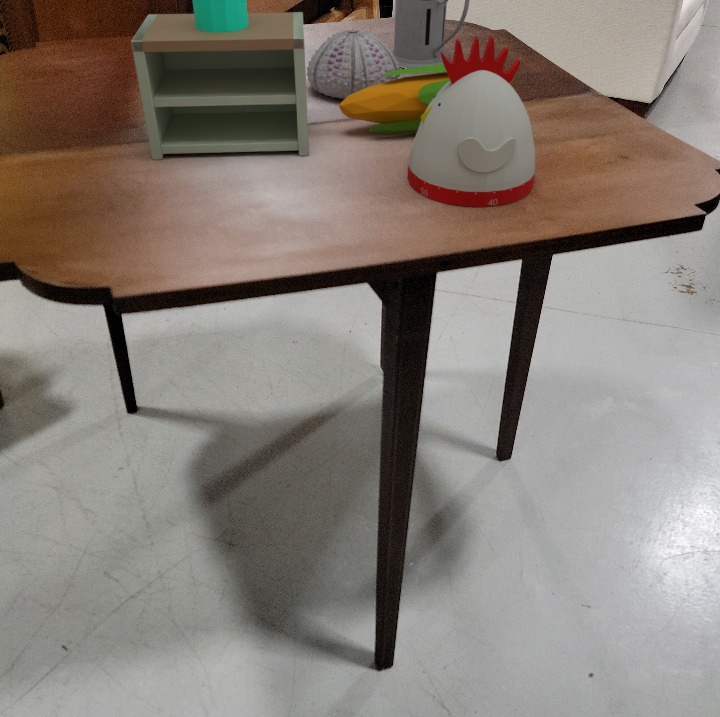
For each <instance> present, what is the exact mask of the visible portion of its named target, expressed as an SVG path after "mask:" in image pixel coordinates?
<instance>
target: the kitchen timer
mask: <svg viewBox="0 0 720 717" xmlns="http://www.w3.org/2000/svg"><path fill="white" fill-rule="evenodd" d="M508 55H509V49H508V47H506V46H504V47H503V48H502V49H501V50H500V52H499V54H497V57H496V58H495V39H494V37H493V36H492V35H490V36H489V37H488V39H487V42H486V46H485V49H484V52H483V55H482V58H481V55H480V40H479V37H478V36H477V35H475V37H474V38H473V41H472V45H471V47H470V52H469V55H468V58H466V59H465V55H464V52H463V47H462V44H461V41H460V40H459V38H456V39H455V43H454V51H453V60H450V61H449V60H448V58H447V57H446V56H445V54H444V52H443V53H442V52H441V58H442V61H443V64H444V67H445V69H446V71H447V74H448V76H449V79H450V81H449V82H448V83H447V84H446V85H445V86H443V87H442V89H441V90H440V91H439V92H438V93H437V94H436V95H435V96H434V98H433V100H432V101H431V103H430V104H429V106H428V107H427V109H426V111H425V113H424V114H423V115H422V116H421V123H420V125H419V128H418V131H417V133H415V137H414V140H413V142H412V145H411V148H410V152H409V156H408V165H407V181H408V183H409V186H410V187H411V188H412V189H413V190H414V191H416V193H418V194H419V195H422V196H424V197H426V198H428V199H429V200H433V201H435V202H440V203H443V204H446V205H452V206H459V207H468V208H469V207H470V208H472V207H474V208H487V207H496V206H503V205H508V204H510V203H514V202H517V201H519V200H521V199H523V198H525V197H527V196H528V195H529V193H531V191H532V190H533V187H534V181H535V175H536V150H535V149H536V148H535V142H534V136H533V131H532V130H533V129H532V125H531V124H532V123H531V121H530V117H529V113H528V112H527V109H526V107H525V105H524V102H523V101H522V99H521V97H520V96H519V94H518V93H517V91H516V90H515V88H514V87H513V86H512V85H511V82H512V81H513V79H514V77H515V76H516V74H517V72H518V70H519V69H520V68H519V67H520V65H521V60H520V58H516V60H514V61H513V63H512V64H511V66H510V67H509V68H508V69H507V70H505V71H504V66H505V63H506V60H507V57H508Z"/></svg>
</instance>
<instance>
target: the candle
mask: <svg viewBox="0 0 720 717" xmlns="http://www.w3.org/2000/svg"><path fill="white" fill-rule="evenodd" d="M192 8H193V14H194V17H195V25H196V28H197V29H199V30H201V31H207V32H232V31H238V30H242V29H244V28H247V27H248V13H249V12H248V2H247V0H192Z"/></svg>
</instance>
